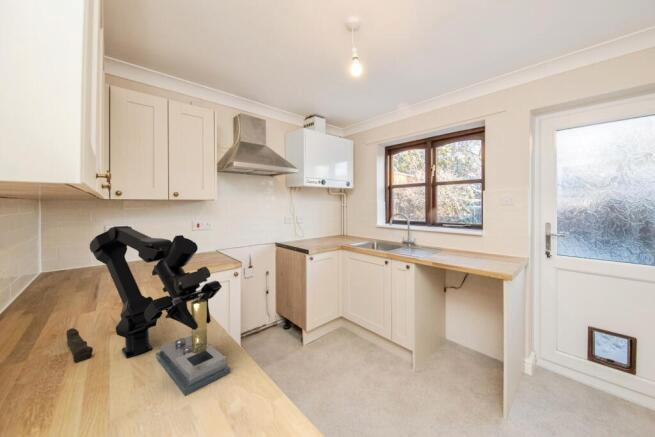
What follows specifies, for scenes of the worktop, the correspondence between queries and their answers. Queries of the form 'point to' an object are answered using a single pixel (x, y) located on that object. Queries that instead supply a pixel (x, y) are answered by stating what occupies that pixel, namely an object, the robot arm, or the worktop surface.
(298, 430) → the worktop surface
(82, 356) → the hand tool
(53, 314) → the worktop surface
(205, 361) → the tiered gray console
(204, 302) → the pin
